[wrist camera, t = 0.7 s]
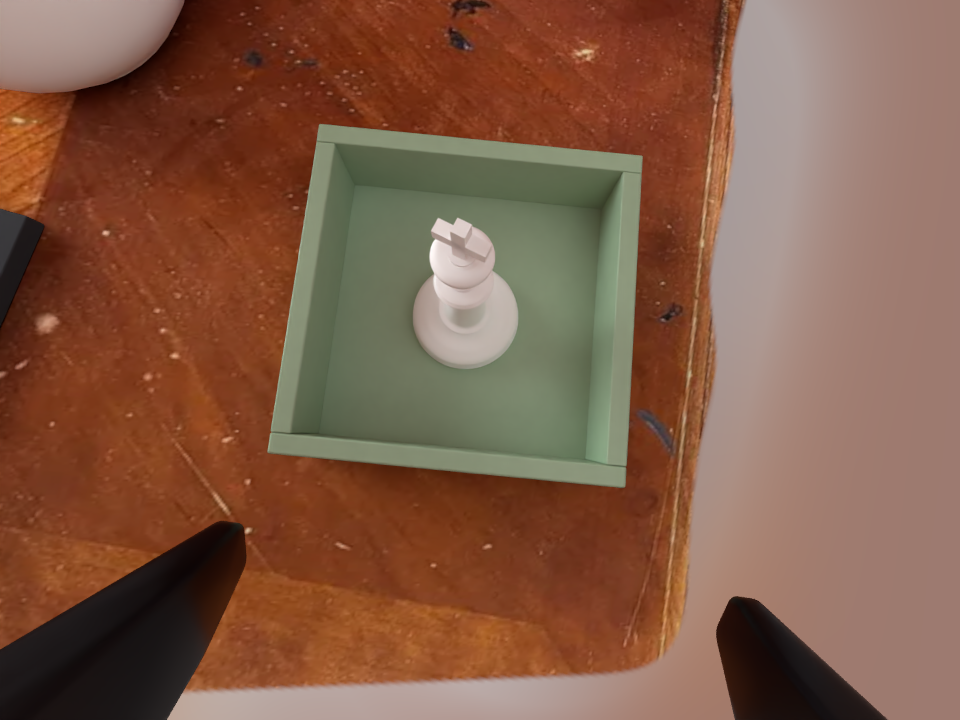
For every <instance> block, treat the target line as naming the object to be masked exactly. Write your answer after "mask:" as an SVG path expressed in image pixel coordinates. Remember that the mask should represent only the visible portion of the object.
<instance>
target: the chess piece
mask: <svg viewBox="0 0 960 720" xmlns="http://www.w3.org/2000/svg"><path fill="white" fill-rule="evenodd" d="M431 234H432V237H433V238H435V240H434V242H433V243H432V246H431V249H430V264H431V268H432V270H433V272H434V274H433V275H432V276H430V277H429V278H428V279H427V280H426V281H425V283H424V284H423V285H422V287H421V288H420V290H419V292H418V294H417V296H416V299H415V302H414V307H413V327H414V331H415V334H416V337H417V339H418V341H419V343H420V345H421V346H422V347H423V349H424V350H425V351H426V352H427V353H428V354H429V355H430V356H431V357H432V358H433V359H435V360H436V361H438V362H440V363H442V364H444V365H446V366H449V367H452V368H457V369H474V368H479V367H482V366H485V365H487V364H490V363H491V362H493V361H495V360H496V359H498V358H499V357H500V356H501V355H502V354H503V353H504V352H505V351H506V350H507V349H508V348H509V346H510V345H511V343H512V341H513V339H514V337H515V334H516V331H517V327H518V308H517V303H516V299H515V297H514V294H513V292H512V290H511V288H510V287H509V285H508V284H507V283H506V282H505V280H504V279H503V278H502V277H500V276H499V275H498V274H497V273H495V272H494V271H492V269H493V267H494V263H495V250H494V247H493V244H492V242H491V240H490V239H489V238H488V236H487V235H486V234H485V233H484V232H482V231H481V230H479V229H477V228H475V227H472V224H470V223H468V222H466V221H464V220H461V219H459V218H457V219H456V221H455V223H454V225H452V224H450V223H448V222H446V221H444V220H442V219H439V218H438V219H437V221H436V223H435V224H434V226H433V228H432V230H431Z"/></svg>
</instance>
